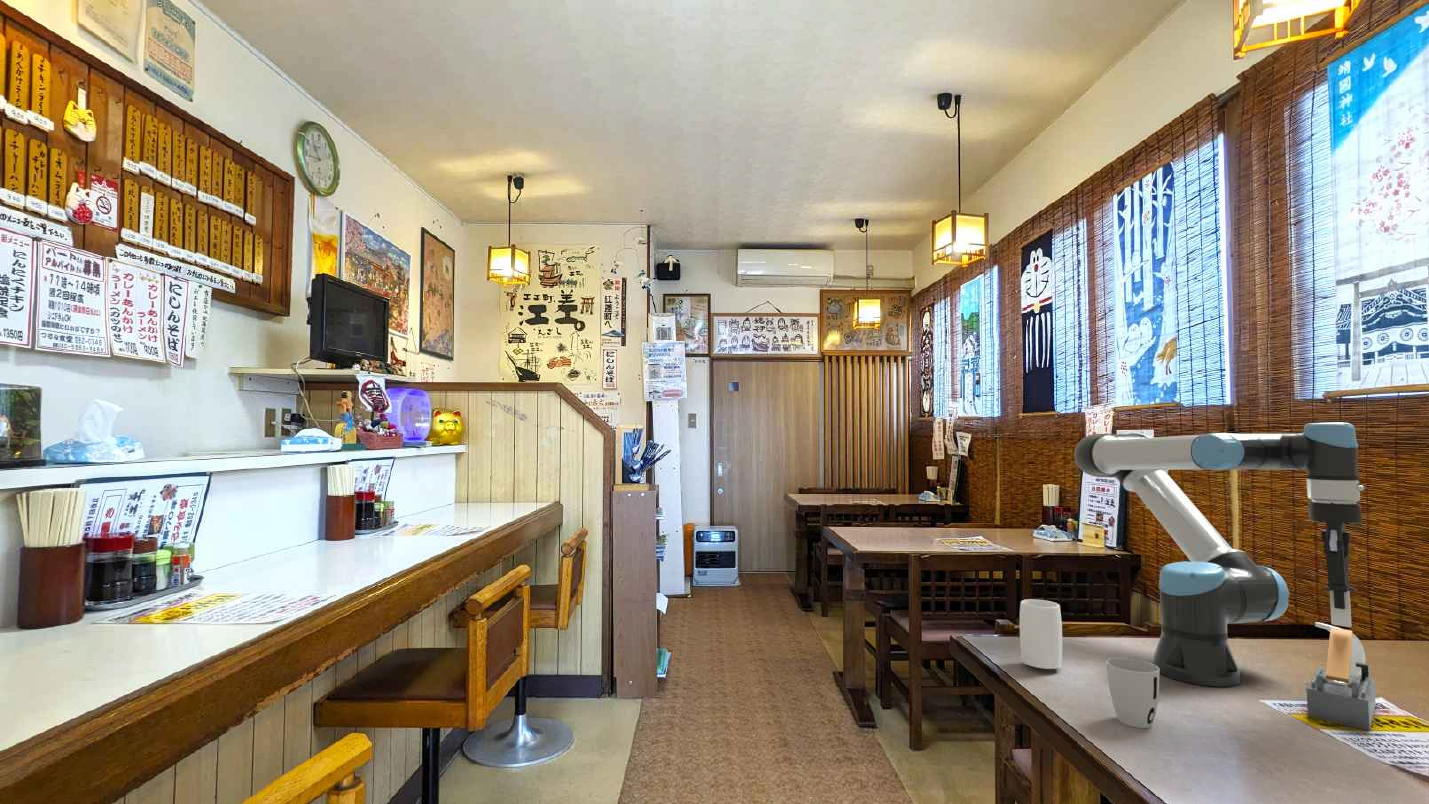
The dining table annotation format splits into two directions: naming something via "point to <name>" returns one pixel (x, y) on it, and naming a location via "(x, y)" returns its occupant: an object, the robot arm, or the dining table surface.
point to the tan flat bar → (1339, 655)
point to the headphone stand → (1356, 651)
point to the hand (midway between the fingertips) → (1341, 625)
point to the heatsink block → (1342, 699)
